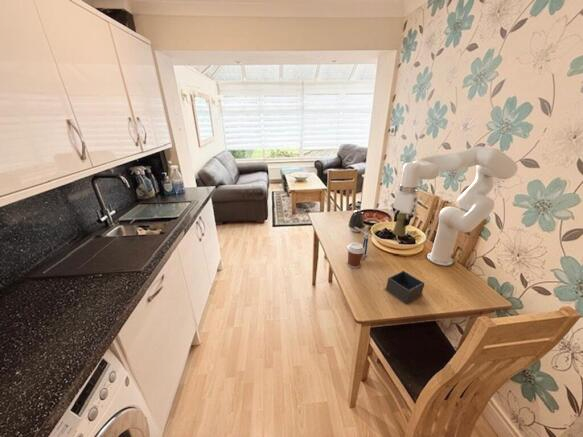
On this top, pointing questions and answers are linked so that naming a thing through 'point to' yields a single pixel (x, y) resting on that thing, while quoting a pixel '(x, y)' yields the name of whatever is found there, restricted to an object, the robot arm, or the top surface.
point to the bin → (405, 286)
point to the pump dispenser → (356, 221)
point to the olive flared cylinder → (400, 225)
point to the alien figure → (366, 239)
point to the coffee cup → (355, 254)
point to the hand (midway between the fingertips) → (401, 223)
